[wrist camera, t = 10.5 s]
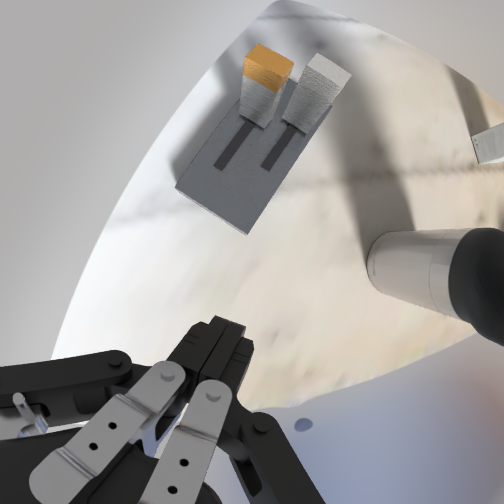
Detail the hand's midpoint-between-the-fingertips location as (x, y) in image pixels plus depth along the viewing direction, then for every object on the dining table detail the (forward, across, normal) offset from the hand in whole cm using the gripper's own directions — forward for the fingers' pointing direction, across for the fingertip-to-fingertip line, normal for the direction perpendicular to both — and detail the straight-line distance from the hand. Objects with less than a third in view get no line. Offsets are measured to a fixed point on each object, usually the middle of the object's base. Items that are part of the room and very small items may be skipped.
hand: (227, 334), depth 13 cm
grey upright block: (+26, +3, -11) cm, 29 cm away
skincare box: (+45, -32, -20) cm, 59 cm away
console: (+28, +7, -6) cm, 29 cm away
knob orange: (+25, +8, -10) cm, 28 cm away
